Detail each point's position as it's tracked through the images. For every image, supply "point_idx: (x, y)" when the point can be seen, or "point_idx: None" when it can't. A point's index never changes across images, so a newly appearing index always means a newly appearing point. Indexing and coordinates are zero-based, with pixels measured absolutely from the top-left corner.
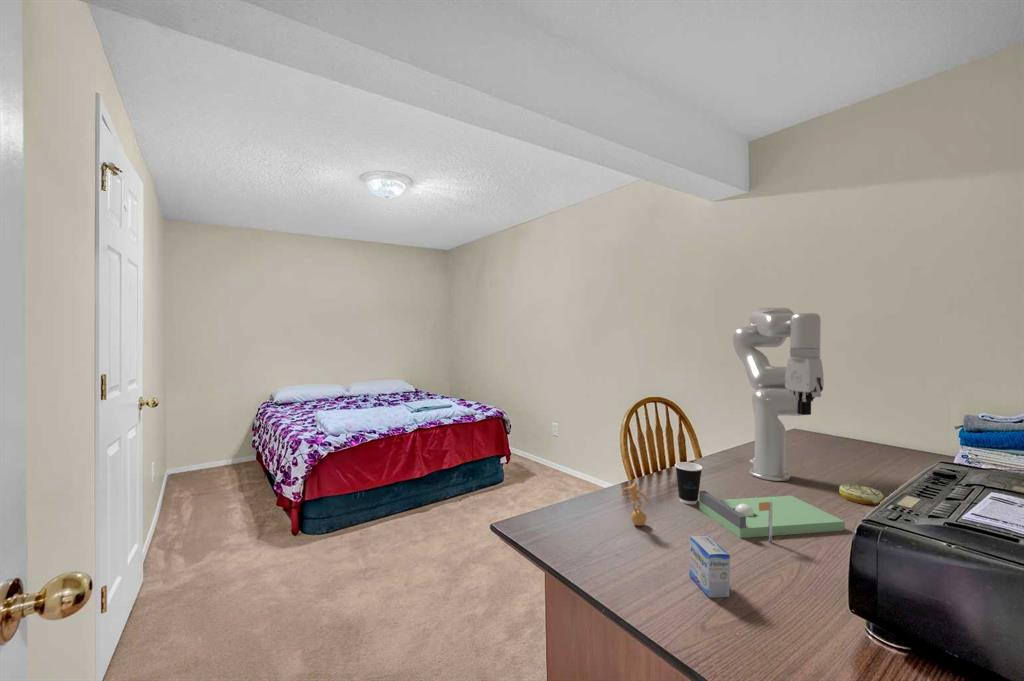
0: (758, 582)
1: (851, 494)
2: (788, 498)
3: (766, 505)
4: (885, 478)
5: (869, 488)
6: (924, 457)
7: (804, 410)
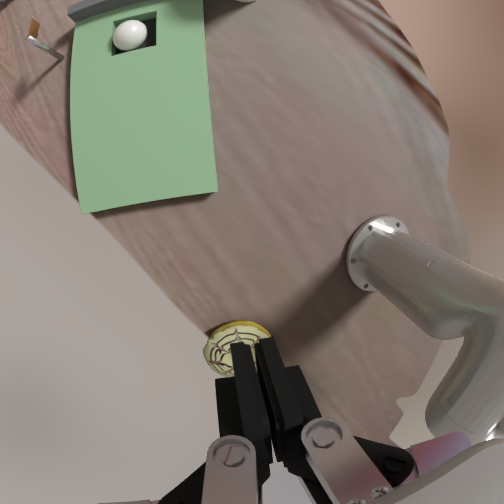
0: (6, 26)
1: (224, 328)
2: (199, 171)
3: (31, 32)
4: None
5: None
6: None
7: (229, 381)
